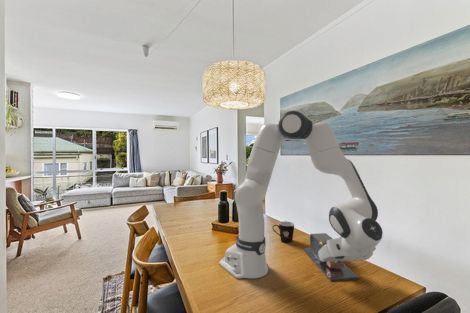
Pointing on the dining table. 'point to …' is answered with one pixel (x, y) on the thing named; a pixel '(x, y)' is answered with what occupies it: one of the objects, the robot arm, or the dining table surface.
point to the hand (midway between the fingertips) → (337, 260)
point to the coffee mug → (285, 231)
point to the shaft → (335, 264)
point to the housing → (332, 273)
